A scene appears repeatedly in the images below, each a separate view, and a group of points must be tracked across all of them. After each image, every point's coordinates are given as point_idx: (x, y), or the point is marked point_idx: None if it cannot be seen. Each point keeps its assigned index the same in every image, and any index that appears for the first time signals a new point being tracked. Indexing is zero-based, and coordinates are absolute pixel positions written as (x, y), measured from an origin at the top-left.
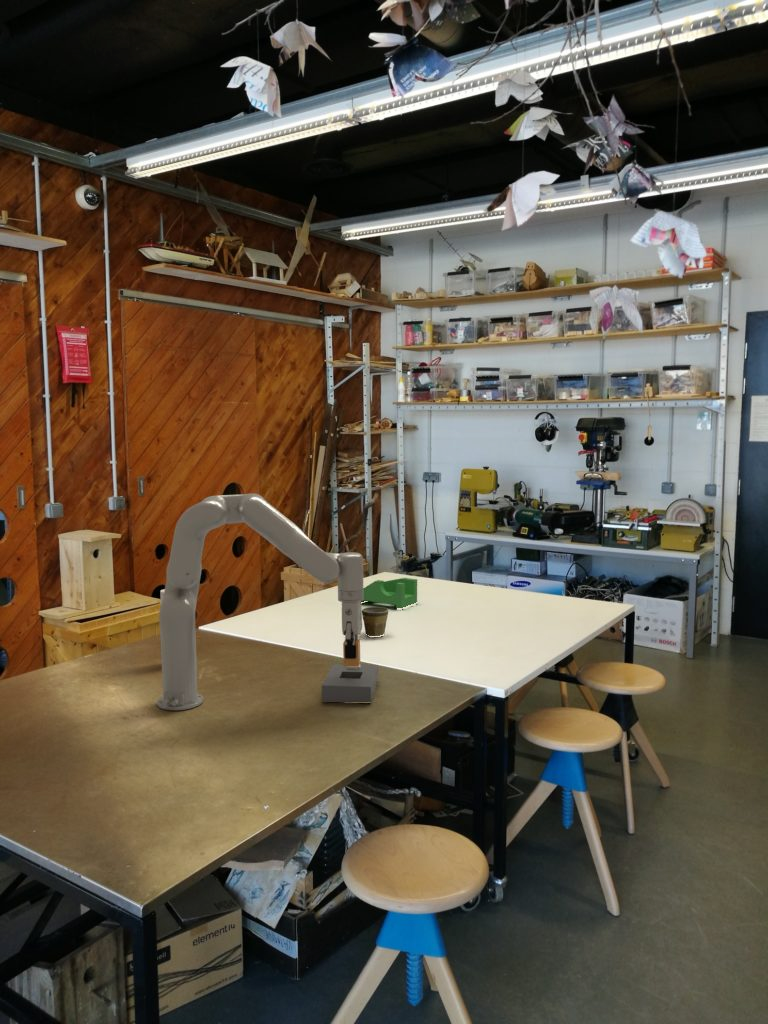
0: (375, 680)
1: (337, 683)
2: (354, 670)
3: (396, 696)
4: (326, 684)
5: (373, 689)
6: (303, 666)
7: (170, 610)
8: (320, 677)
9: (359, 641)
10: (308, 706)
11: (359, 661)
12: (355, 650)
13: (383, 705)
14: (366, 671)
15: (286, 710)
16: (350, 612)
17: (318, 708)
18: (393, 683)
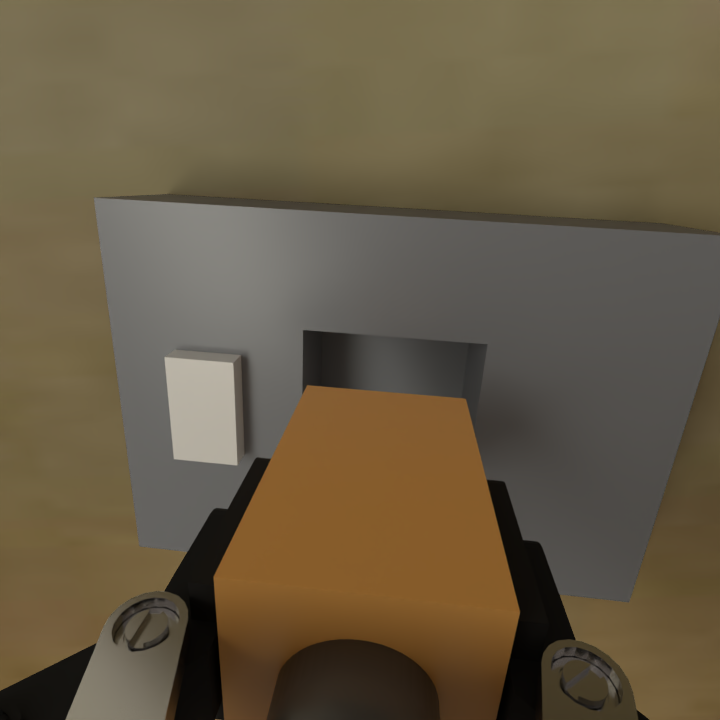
0: (331, 207)
1: (596, 508)
2: (267, 397)
3: (507, 14)
4: (611, 576)
5: (488, 215)
6: (4, 620)
7: None
8: None
9: (301, 568)
10: (638, 579)
11: (378, 404)
12: (523, 555)
13: (707, 121)
14: (283, 297)
15: (682, 665)
16: None
17: (682, 532)
18: (196, 60)
